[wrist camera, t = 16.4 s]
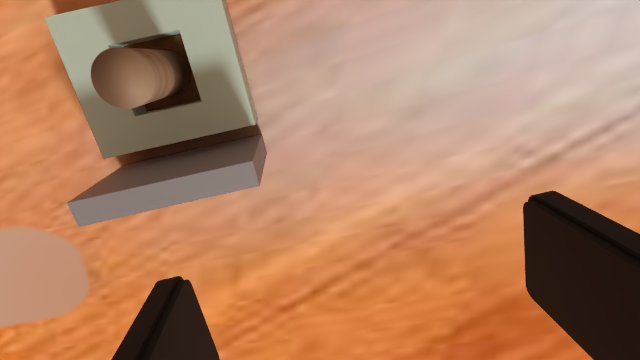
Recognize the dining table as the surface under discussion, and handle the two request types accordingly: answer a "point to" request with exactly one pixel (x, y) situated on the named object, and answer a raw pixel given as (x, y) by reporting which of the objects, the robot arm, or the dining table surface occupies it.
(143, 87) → the walnut peg
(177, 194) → the low wall
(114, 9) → the socket block
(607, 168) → the dining table surface
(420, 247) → the dining table surface
